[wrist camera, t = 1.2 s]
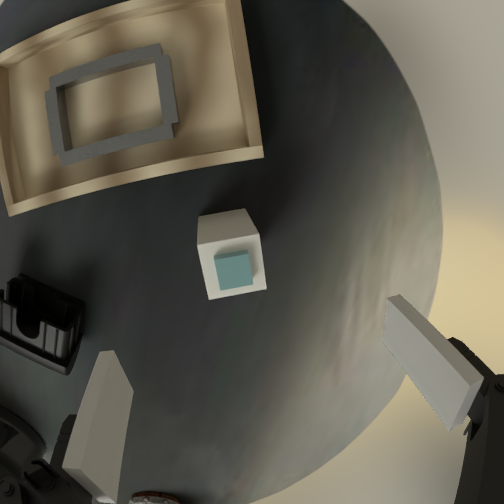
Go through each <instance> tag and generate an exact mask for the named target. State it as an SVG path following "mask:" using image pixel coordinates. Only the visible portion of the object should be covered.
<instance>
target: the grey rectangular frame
mask: <svg viewBox="0 0 504 504" xmlns="http://www.w3.org/2000/svg"><path fill="white" fill-rule="evenodd" d="M152 63H155V68H156V76H157V83H158V90H159V97H160V104H161V111H162V117H163V124H164V125H162V126H157V127H153V128H149V129H144V130H140V131H136V132H132V133H128V134H124V135H120V136H116V137H113V138H109V139H105V140H102V141H98V142H95V143H92V144H88V145H85V146H82V147H78V148H75V149H73V146H72V140H71V134H70V128H69V121H68V114H67V106H66V98H65V89H68V88H71V87H73V86H76V85H79V84H82V83H85V82H88V81H91V80H94V79H97V78H100V77H104V76H107V75H110V74H114V73H117V72H121V71H124V70H128V69H132V68H136V67H140V66H144V65H148V64H152ZM49 84H50V90H48V91H45V92H44V93H45V102H46V111H47V119H48V126H49V133H50V139H51V145H52V151H53V156H55V155H59V157H60V162H61V167H64V166H67V165H71V164H74V163H77V162H81V161H84V160H87V159H91V158H94V157H98V156H101V155H105V154H109V153H112V152H116V151H120V150H124V149H128V148H132V147H136V146H140V145H145V144H149V143H153V142H158V141H162V140H167V139H172V138H176V137H175V131H174V124H178V123H180V118H179V112H178V105H177V99H176V92H175V85H174V78H173V70H172V63H171V58H170V56H169V54H166V55H163V48H162V46H161V44H160V43H157V44H153V45H148V46H144V47H140V48H136V49H132V50H128V51H125V52H121V53H117V54H114V55H111V56H107V57H104V58H101V59H98V60H95V61H92V62H89V63H86V64H83V65H80V66H77V67H74V68H72V69H69V70H66V71H64V72H61V73H59V74H56V75H54V76H51V77H49Z"/></svg>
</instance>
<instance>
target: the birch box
mask: <svg viewBox="0 0 504 504" xmlns="http://www.w3.org/2000/svg"><path fill="white" fill-rule="evenodd" d="M157 43H160V44H161V46H162V48H163V55H166V54H169V56H170V58H171V63H172V70H173V78H174V85H175V92H176V99H177V105H178V112H179V118H180V123H178V124H174V131H175V137H176V138H172V139H167V140H162V141H158V142H153V143H149V144H145V145H140V146H136V147H132V148H128V149H124V150H120V151H116V152H112V153H109V154H105V155H101V156H98V157H94V158H91V159H87V160H84V161H81V162H77V163H74V164H71V165H67V166H64V167H61V162H60V157H59V155H55V156H53V151H52V145H51V139H50V133H49V126H48V119H47V111H46V102H45V93H44V92H45V91H48V90H50V84H49V77H51V76H54V75H56V74H59V73H61V72H64V71H66V70H69V69H72V68H74V67H77V66H80V65H83V64H86V63H89V62H92V61H95V60H98V59H101V58H104V57H107V56H111V55H114V54H117V53H121V52H125V51H128V50H132V49H136V48H140V47H144V46H148V45H153V44H157ZM65 98H66V106H67V114H68V121H69V128H70V134H71V140H72V146H73V149H75V148H78V147H82V146H85V145H88V144H92V143H95V142H98V141H102V140H105V139H109V138H113V137H116V136H120V135H124V134H128V133H132V132H136V131H140V130H144V129H149V128H153V127H157V126H162V125H164V124H163V117H162V111H161V104H160V97H159V90H158V83H157V76H156V68H155V63H152V64H148V65H144V66H140V67H136V68H132V69H128V70H124V71H121V72H117V73H114V74H110V75H107V76H104V77H100V78H97V79H94V80H91V81H88V82H85V83H82V84H79V85H76V86H73V87H71V88H68V89H65ZM257 158H264V154H263V147H262V139H261V132H260V125H259V118H258V111H257V104H256V97H255V90H254V84H253V77H252V70H251V64H250V57H249V51H248V45H247V38H246V32H245V26H244V20H243V14H242V8H241V2H240V0H130V1H126V2H123V3H119V4H116V5H112V6H109V7H106V8H103V9H100V10H97V11H94V12H91V13H88V14H85V15H82V16H79V17H77V18H74V19H72V20H69V21H66V22H64V23H61V24H59V25H57V26H54V27H52V28H50V29H47V30H45V31H43V32H41V33H39V34H36V35H34V36H32V37H30V38H28V39H26V40H24V41H22V42H20V43H18V44H16V45H15V46H13V47H11V48H9V49H7V50H5V51H4V52H2V53H0V181H1V186H2V190H3V195H4V199H5V203H6V207H7V211H8V215H9V217H11V216H14V215H17V214H20V213H23V212H26V211H29V210H32V209H35V208H38V207H41V206H45V205H48V204H51V203H55V202H58V201H61V200H65V199H68V198H72V197H75V196H79V195H83V194H86V193H90V192H94V191H98V190H101V189H105V188H109V187H113V186H117V185H122V184H126V183H130V182H134V181H139V180H143V179H147V178H152V177H157V176H161V175H166V174H171V173H176V172H181V171H186V170H191V169H197V168H202V167H208V166H213V165H219V164H225V163H231V162H237V161H244V160H250V159H257Z"/></svg>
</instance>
